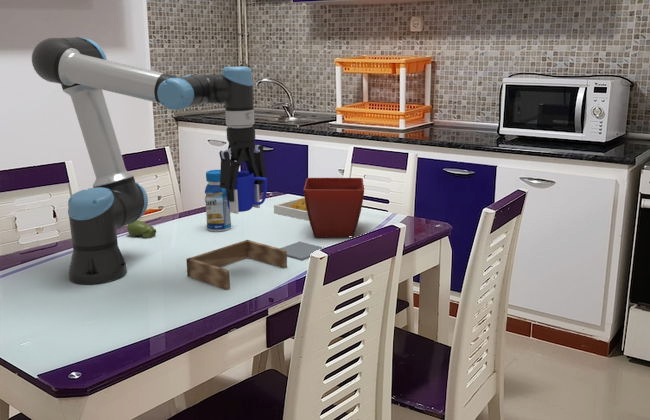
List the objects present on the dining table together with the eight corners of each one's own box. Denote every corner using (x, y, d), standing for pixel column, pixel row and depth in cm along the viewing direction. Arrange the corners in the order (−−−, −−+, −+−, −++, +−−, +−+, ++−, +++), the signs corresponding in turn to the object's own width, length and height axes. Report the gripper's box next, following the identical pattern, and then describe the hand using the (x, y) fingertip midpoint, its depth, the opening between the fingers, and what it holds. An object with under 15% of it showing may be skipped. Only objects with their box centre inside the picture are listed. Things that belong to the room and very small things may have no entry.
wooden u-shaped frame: (187, 276, 180) (186, 258, 179) (247, 255, 196) (247, 239, 195) (226, 289, 170) (225, 271, 168) (287, 267, 186) (286, 250, 185)
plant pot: (362, 224, 228) (362, 176, 223) (364, 241, 209) (364, 189, 205) (307, 224, 228) (306, 177, 224) (304, 241, 210) (303, 189, 206)
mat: (272, 252, 199) (272, 250, 199) (299, 243, 208) (299, 241, 208) (301, 260, 191) (301, 258, 191) (328, 250, 200) (328, 248, 200)
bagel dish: (274, 213, 244) (273, 205, 244) (304, 204, 257) (304, 196, 256) (310, 221, 233) (309, 212, 232) (340, 211, 245) (340, 203, 245)
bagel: (286, 210, 249) (286, 198, 248) (315, 208, 250) (315, 196, 249) (289, 217, 239) (288, 204, 238) (318, 215, 241) (318, 202, 240)
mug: (263, 214, 175) (261, 178, 173) (221, 213, 178) (218, 177, 176) (273, 206, 183) (271, 171, 180) (232, 205, 186) (230, 170, 183)
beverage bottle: (235, 229, 224) (233, 171, 219) (213, 233, 219) (209, 174, 214) (224, 224, 231) (221, 167, 226) (202, 228, 226) (199, 170, 221)
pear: (134, 216, 221) (160, 223, 218) (133, 231, 222) (158, 238, 219) (124, 220, 216) (150, 228, 213) (123, 235, 217) (149, 243, 214)
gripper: (220, 131, 165) (225, 219, 170) (277, 123, 179) (280, 204, 185) (201, 129, 170) (207, 215, 175) (258, 121, 184) (262, 201, 189)
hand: (245, 209), depth 180 cm, fingers closed on mug, 7 cm apart
